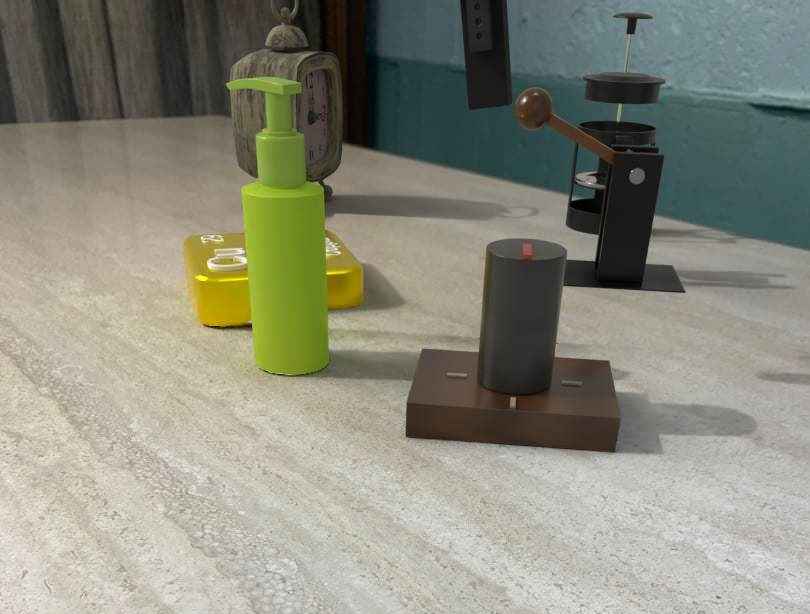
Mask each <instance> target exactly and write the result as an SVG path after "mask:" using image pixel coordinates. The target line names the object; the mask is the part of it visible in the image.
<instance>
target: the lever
mask: <svg viewBox="0 0 810 614" xmlns="http://www.w3.org/2000/svg"><path fill="white" fill-rule="evenodd" d="M554 110H555V109H554V100H553V99H552V96H551V95H550V93H549V92H548V91H547V90H545V89H544V88H541V87H535V86H534V87H529V88H526V89H525V90H523V91H522V92H521V93H520V94H519V95H518V97H517V98H516V100H515V103H514V108H513V112H514V113H513V114H514V119H515V121H516V123H517V124H518V125H519V126H520V127H521V128H522V129H524V130H526V131H529V132H536V131H539V130H541V129H544V128H545V127H546V126H547V127H549V128H551V129H552V130H554V131H556V132H558V134H561V135H563V136H564V137H566V138H568V139H569V140H571V141H573V142H574V143H575V142H576V143H577V144H579V145H580V146H581V147H582V148H584V149H586V150H587V151H589V152H591V153H592V154H593V155H596V156H598V158H599V157H600V158H602V159H604V160H605V161H607V162H609V163H610V164H612V165H613V159H614V152H615V151H614V150H612V149H611V148H609V147H607V146H606V145H604V144H603V143H601V142H599V141H598V140H596V139H594V138H593V137H591V136H589V135H588V134H586V133H585V132H583V131H581V130H580V129H578V128H577V126H574V125H573V124H572V123H570V122H568V121H566V120H565V119H564V118H561V117H560V116H558V115H557V114H555V113H554ZM579 145H578V146H579ZM626 152H633V151H631V150H629V149H627V151H626Z"/></svg>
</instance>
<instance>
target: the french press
mask: <svg viewBox="0 0 810 614" xmlns="http://www.w3.org/2000/svg"><path fill="white" fill-rule="evenodd" d="M612 18H613V19H614V18H615V19H625V20H626V19H627V23H626V33H625V34H626V35H628V36H627V44H626V52H625V59H624V65H623V71H606V72H605V71H604V72H600V73H594V74H593V73H591V74H585V75H583V76H582V81H585V82H586V84H585V91H584V99H586V100H588V101H591V102H597V103H604V104H605V103H606V104H617V105H618V106H617V115H616V120H587V121H580V122H578V123H577V125H576V128H578V129H580V130H581V131H583V132H585V133H586V134H588V135H589V136H591V137H593V138H594V139H596V140H598V141H599V142H601V143H603V144H604V145H606V146H607V147H609V148H611V144H618V145H641V146H656V142H657V136H658V130H659V129H658V127H657V126H655V125H651V124H647V123H642V122H635V121H624V120H623V121H622V120H621V115H622V114H621V113H622V107H623V105H651V104H656V103H658V102H659V98H660V94H661V93H660V92H661V86H662V85H665V84H666V83H667V79H665V78H663V77H658V76H657V77H656V76H652V75H649V74H646V73H639V72H630V71H629V72H628V68H629V67H628V66H629V61H630V51H631V45H632V38H633V35H636V31H637V30H636V29H637V25H638V20H653V19H654V17H653V16H652V15H650V14H647V13H643V12H619V13H616V14H614V15H612ZM573 149H574V151H573V158H572V167H571V175H570V184H569V192H568V198H567V199H568V200H567V209H566V217H565V226H566V227H567V228H568V229H571V230H573V231H575V232H579V233H583V234H588V235H595V236H598V235H599V228H600V221H601V213H602V206H603V199H604V192H605V185H606V178H607V171H608V164H609V162H607V161H605V160H604V159H602V158H600V157H599V156H598V164H597V171H586V172H585V171H584V172H580V173H576V169H577V161H578V154H579V153H578V152H579V144H577V143H576V142H574V148H573ZM574 185H577V186H578V187H582V188H586V189H590V190H594V194H593V197H583V198H576V199H573V193H574Z"/></svg>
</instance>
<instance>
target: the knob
mask: <svg viewBox="0 0 810 614" xmlns="http://www.w3.org/2000/svg"><path fill="white" fill-rule="evenodd" d="M484 257H485V258H484V270H483V284H482V285H483V286H482V299H481V300H482V301H481V313H480V327H479V342H478V352H479V354H478V368H477V380H478V382H479V383H480V384H481V385H483V386H484V387H486V388H488V389H490V390H493V391H497V392H501V393H506V394H532V393H537V392H541V391H543V390H545V389H547V388H548V387H549V386H550V385H551V381H552V373H553V365H554V357H556V348H557V339H558V332H559V331H558V330H559V323H560V315H561V307H562V299H563V290H564V286H563V283H564V275H565V267H566V259H567V257H568V250H567V248H566V247H564V246H563V245H561V244H559V243H557V242H553V241H548V240H544V239H538V238H537V239H536V238H523V237H521V238H520V237H516V238H504V239H503V238H502V239H498V240H494V241H491V242H489V243H488V244H487V245H486V248H485V256H484ZM567 260H568V259H567Z"/></svg>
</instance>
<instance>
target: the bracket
mask: <svg viewBox="0 0 810 614" xmlns="http://www.w3.org/2000/svg"><path fill="white" fill-rule="evenodd" d="M611 149H612V150H614V151H615V152H614V159H613V165H612V164H610V163H609V164H608V171H607V178H606V185H605V192H604V199H603V206H602V213H601V221H600V228H599V235H597V243H596V248H595V249H596V250H595V257H594V260H581V259H566V267H565V275H564V283H563V287H571V288H572V287H573V288H589V289H590V288H591V289H607V290H622V291H623V290H627V291H642V292H657V293H658V292H660V293H662V292H663V293H674V294H675V293H679V294H685V293H686V291H685V289H684V287H683V285H682V283H681V280H680V279H679V276H678V275H677V272H676V270H675V268H674V266H673V264H671V265H670V264H656V263H647V260H648V259H647V258H648V254H649V247H650V242H651V236H652V231H653V230H652V229H653V224H654V219H655V213H656V208H657V207H656V206H657V201H658V195H659V190H660V184H661V177H662V172H663V166H664V162H665V154H664V153H661V152H660V153H659V151H660V148H659V146H658V145H655V146H650V145H618V144H611ZM627 149H629V150H631V151H633V152H626V151H627Z"/></svg>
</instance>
